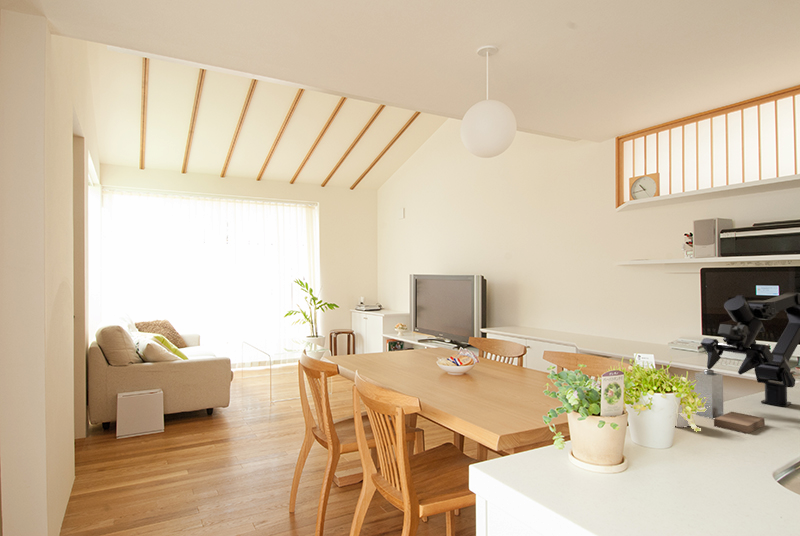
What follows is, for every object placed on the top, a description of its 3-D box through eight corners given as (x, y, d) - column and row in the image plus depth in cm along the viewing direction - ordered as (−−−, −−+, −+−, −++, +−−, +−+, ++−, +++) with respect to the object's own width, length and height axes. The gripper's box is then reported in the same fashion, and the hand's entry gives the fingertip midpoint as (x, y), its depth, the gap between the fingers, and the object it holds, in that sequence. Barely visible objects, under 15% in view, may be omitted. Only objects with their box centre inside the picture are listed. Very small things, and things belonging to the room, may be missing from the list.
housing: (706, 412, 147) (705, 368, 147) (723, 417, 142) (722, 370, 142) (695, 414, 145) (695, 369, 145) (712, 419, 140) (711, 372, 140)
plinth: (731, 418, 140) (731, 411, 140) (764, 425, 134) (764, 417, 134) (714, 426, 133) (713, 418, 133) (748, 433, 127) (747, 425, 127)
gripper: (703, 313, 157) (681, 349, 153) (766, 317, 140) (743, 357, 136) (719, 336, 160) (698, 372, 156) (783, 342, 143) (761, 383, 139)
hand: (723, 370), depth 146 cm, fingers open, 9 cm apart
